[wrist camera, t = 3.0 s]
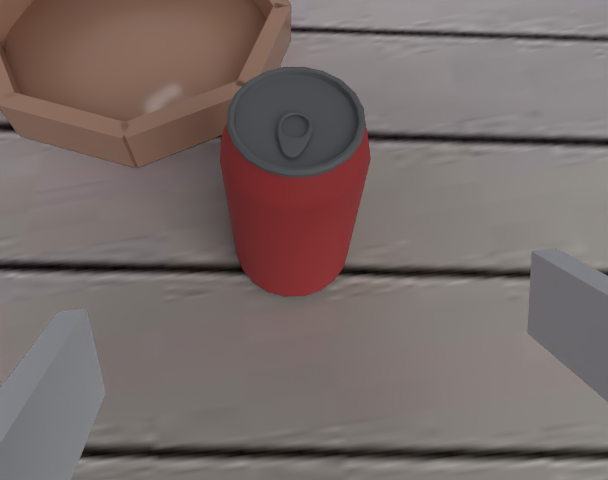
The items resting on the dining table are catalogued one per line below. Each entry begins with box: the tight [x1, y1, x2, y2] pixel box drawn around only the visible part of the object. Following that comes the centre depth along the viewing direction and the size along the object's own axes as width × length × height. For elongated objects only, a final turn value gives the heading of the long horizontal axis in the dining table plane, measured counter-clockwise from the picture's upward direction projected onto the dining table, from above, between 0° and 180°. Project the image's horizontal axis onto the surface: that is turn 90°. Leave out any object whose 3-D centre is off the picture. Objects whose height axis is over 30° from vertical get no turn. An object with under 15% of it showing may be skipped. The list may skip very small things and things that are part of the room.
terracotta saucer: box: [0, 0, 291, 168], centre depth 38 cm, size 20×20×3 cm
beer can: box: [220, 67, 370, 297], centre depth 26 cm, size 7×7×12 cm
